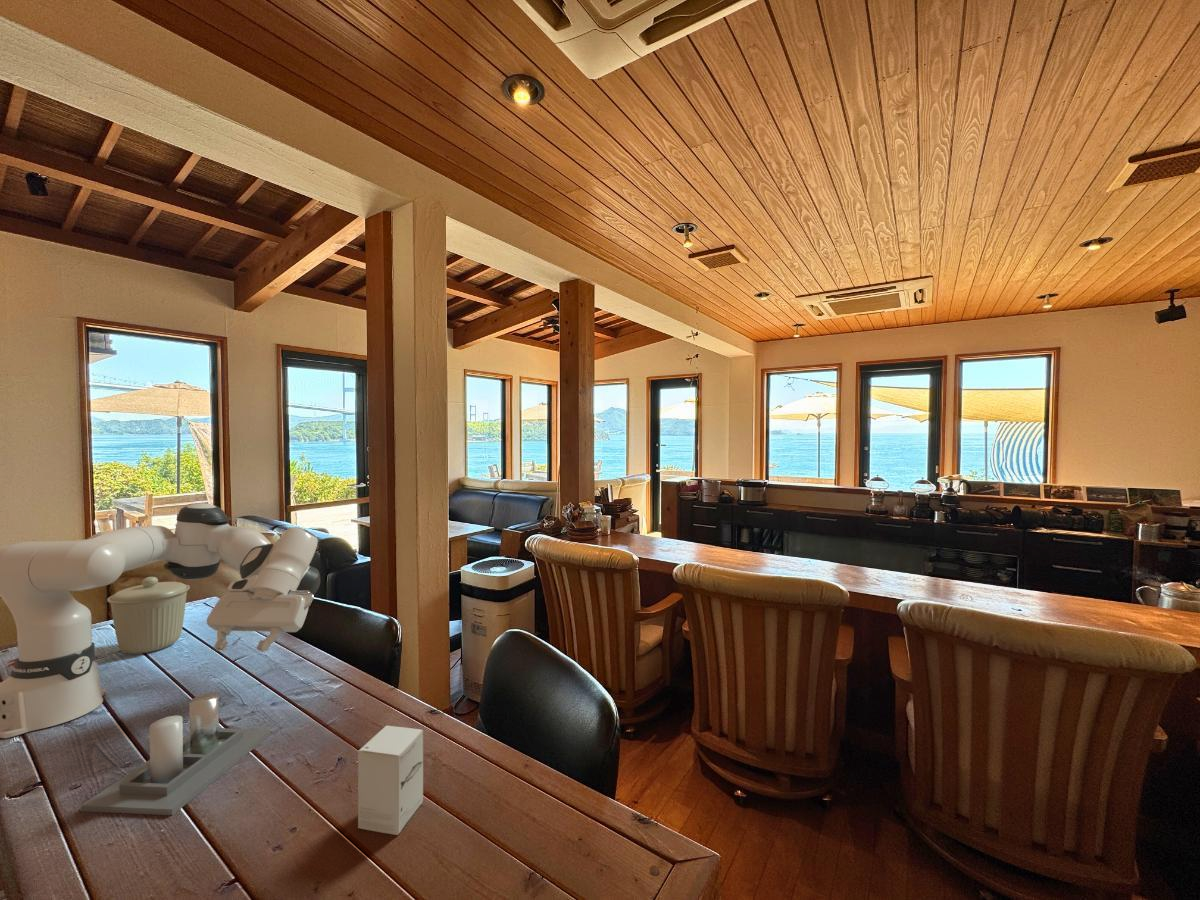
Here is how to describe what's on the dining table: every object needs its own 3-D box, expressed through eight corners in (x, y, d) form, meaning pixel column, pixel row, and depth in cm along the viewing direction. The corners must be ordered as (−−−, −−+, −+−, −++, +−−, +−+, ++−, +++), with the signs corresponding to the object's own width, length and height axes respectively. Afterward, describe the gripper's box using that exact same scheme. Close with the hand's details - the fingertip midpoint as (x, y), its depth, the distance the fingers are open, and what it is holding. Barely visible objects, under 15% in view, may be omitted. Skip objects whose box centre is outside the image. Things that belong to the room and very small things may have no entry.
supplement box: (398, 837, 75) (397, 756, 75) (356, 829, 77) (355, 750, 76) (424, 802, 82) (424, 728, 82) (386, 795, 84) (385, 723, 84)
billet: (183, 756, 93) (183, 704, 93) (203, 742, 97) (203, 692, 97) (205, 757, 92) (205, 705, 92) (224, 742, 97) (224, 693, 97)
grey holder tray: (80, 811, 80) (79, 745, 80) (198, 732, 102) (197, 680, 102) (172, 815, 79) (171, 749, 79) (270, 734, 101) (270, 682, 101)
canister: (156, 633, 155) (155, 568, 155) (206, 636, 153) (205, 570, 152) (89, 658, 137) (88, 584, 137) (144, 662, 135) (143, 587, 135)
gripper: (322, 597, 114) (294, 656, 104) (239, 595, 115) (204, 654, 105) (310, 583, 110) (279, 644, 100) (223, 582, 111) (185, 642, 101)
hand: (239, 649), depth 103 cm, fingers open, 8 cm apart
